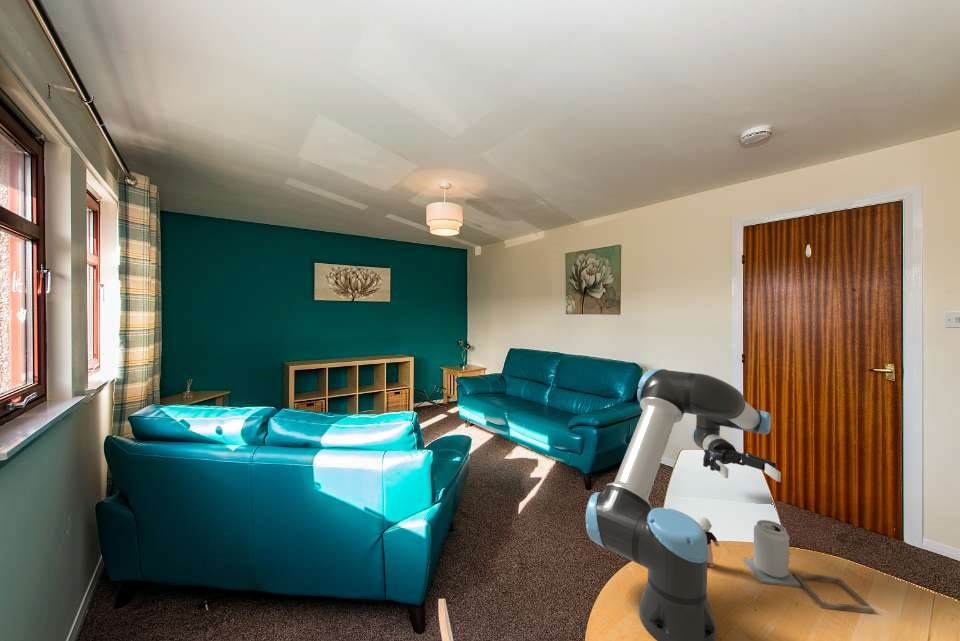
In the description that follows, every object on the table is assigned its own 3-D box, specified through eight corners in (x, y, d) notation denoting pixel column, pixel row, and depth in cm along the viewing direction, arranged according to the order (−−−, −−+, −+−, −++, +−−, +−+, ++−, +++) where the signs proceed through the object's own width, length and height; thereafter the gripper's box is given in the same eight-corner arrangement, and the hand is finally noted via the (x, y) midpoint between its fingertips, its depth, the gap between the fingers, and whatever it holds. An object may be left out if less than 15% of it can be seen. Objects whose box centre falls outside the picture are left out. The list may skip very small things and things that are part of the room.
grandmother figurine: (708, 557, 109) (709, 512, 108) (720, 566, 105) (721, 520, 104) (686, 562, 106) (686, 517, 106) (697, 571, 103) (698, 524, 102)
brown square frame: (821, 607, 90) (821, 603, 90) (792, 576, 101) (792, 572, 101) (873, 613, 89) (873, 609, 89) (838, 580, 99) (838, 576, 99)
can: (795, 582, 98) (796, 535, 97) (761, 578, 99) (762, 532, 99) (778, 562, 105) (779, 519, 105) (747, 559, 107) (748, 516, 106)
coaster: (761, 583, 98) (761, 580, 98) (743, 560, 107) (743, 557, 107) (801, 586, 97) (801, 584, 97) (779, 563, 106) (779, 561, 106)
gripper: (759, 462, 130) (801, 491, 109) (679, 457, 134) (705, 484, 113) (760, 440, 130) (801, 465, 109) (680, 436, 134) (706, 459, 113)
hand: (752, 475), depth 111 cm, fingers open, 13 cm apart
